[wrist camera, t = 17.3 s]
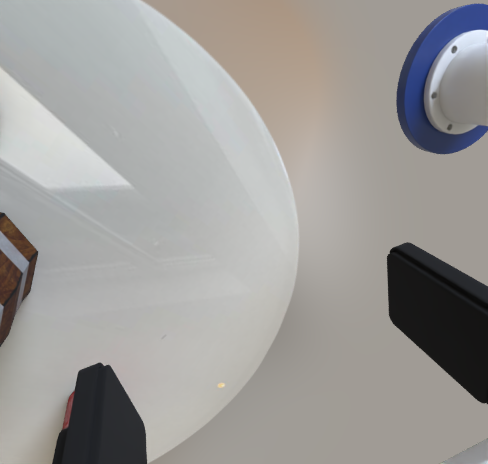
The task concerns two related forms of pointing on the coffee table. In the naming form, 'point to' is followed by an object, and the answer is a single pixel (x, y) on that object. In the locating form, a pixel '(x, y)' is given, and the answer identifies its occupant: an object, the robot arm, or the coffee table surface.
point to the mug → (13, 272)
